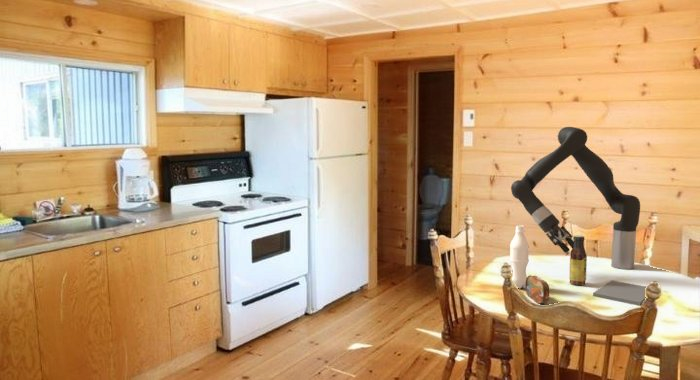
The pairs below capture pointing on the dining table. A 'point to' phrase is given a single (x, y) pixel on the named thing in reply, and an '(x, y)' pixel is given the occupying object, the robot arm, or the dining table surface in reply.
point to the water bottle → (519, 257)
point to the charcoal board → (622, 292)
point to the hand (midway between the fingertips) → (571, 249)
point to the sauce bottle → (578, 262)
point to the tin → (537, 289)
